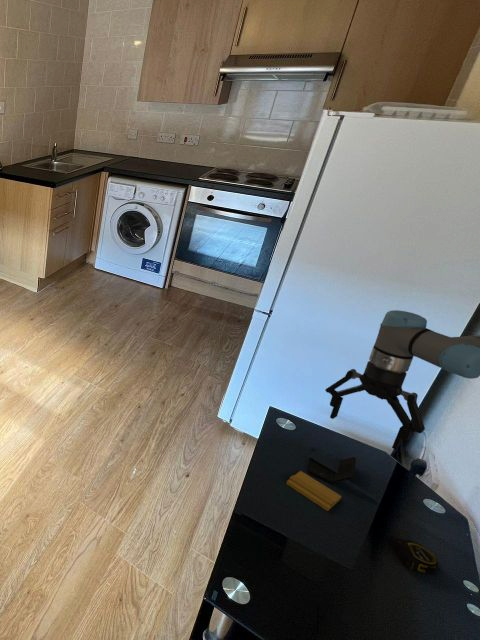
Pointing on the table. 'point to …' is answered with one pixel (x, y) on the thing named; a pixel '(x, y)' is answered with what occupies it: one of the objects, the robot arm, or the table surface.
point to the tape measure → (415, 556)
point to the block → (314, 490)
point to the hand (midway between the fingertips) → (362, 431)
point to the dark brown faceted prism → (330, 476)
